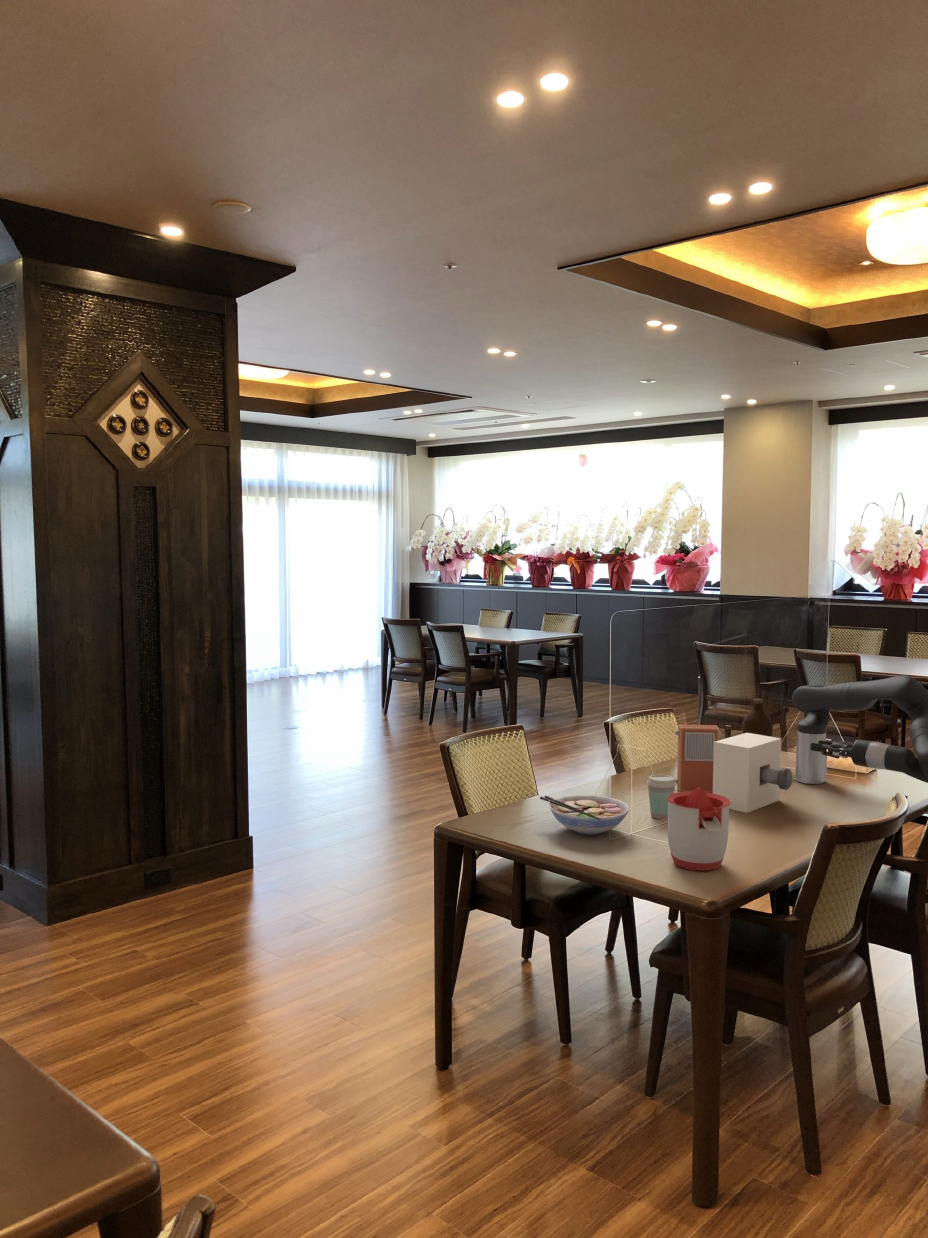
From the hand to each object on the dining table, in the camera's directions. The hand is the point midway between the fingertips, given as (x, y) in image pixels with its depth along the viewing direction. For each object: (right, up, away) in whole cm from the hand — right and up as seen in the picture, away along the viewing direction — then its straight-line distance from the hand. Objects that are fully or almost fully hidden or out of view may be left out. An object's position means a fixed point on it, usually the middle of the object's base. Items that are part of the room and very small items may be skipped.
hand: (815, 745), depth 279 cm
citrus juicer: (-45, -26, -39) cm, 65 cm away
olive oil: (+2, -17, +64) cm, 66 cm away
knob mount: (-15, -20, +17) cm, 31 cm away
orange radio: (-27, -19, +32) cm, 46 cm away
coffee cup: (-46, -22, +2) cm, 51 cm away
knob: (-9, -14, +10) cm, 20 cm away
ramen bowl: (-69, -23, -12) cm, 74 cm away
